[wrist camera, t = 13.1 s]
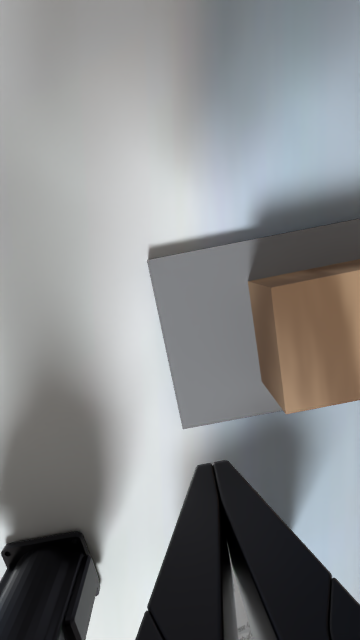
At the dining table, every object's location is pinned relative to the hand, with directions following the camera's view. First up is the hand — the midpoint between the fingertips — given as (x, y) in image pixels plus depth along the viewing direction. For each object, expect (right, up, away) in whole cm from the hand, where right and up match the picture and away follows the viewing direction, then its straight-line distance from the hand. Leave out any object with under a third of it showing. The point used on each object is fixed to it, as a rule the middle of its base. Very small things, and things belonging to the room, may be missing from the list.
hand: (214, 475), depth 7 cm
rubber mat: (+5, +4, +11) cm, 13 cm away
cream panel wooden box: (+4, +3, +8) cm, 10 cm away
